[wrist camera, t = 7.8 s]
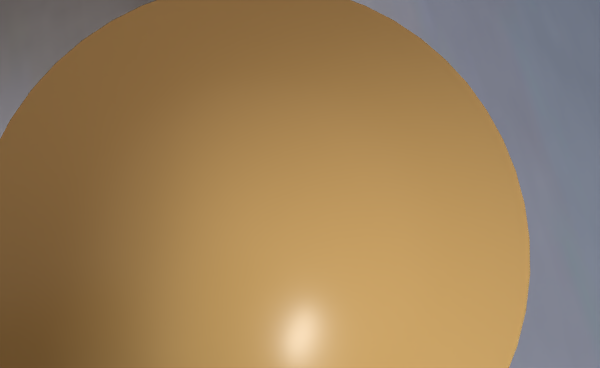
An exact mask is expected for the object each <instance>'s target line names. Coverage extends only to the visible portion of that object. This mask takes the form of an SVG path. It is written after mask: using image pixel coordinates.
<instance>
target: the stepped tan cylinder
mask: <svg viewBox="0 0 600 368" xmlns="http://www.w3.org/2000/svg"><path fill="white" fill-rule="evenodd" d="M529 278H530V245H529V232H528V225H527V218H526V211H525V204H524V200H523V196H522V193H521V189H520V185H519V182H518V178H517V174H516V171H515V168H514V166H513V163H512V161H511V158H510V156H509V153H508V151H507V148H506V146H505V143H504V141H503V139H502V137H501V135H500V133H499V131H498V130H497V128H496V126H495V124H494V122H493V121H492V119H491V117H490V115H489V113H488V112H487V110H486V109H485V107H484V106H483V104H482V103H481V102H480V100H479V99H478V97H477V96H476V95H475V93H474V92H473V90H472V89H471V88H470V86H469V85H468V84H467V82H466V81H465V80H464V79H463V78H462V77H461V76H460V75H459V74H458V73H457V72H456V71H455V69H454V68H453V67H452V66H451V65H450V64H449V63H448V62H447V61H446V60H445V59H444V58H443V57H442V56H441V55H439V54H438V53H437V52H436V51H435V50H434V49H432V48H431V47H430V46H429V45H428V44H427V43H425V42H424V41H423V40H422V39H421V38H419V37H418V36H416V35H415V34H413V33H412V32H410V31H409V30H407V29H406V28H404V27H403V26H401V25H400V24H398V23H397V22H395V21H394V20H392V19H390V18H388V17H386V16H384V15H382V14H380V13H378V12H376V11H374V10H372V9H370V8H369V7H367V6H364V5H362V4H359V3H356V2H354V1H351V0H156V1H153V2H151V3H148V4H145V5H142V6H140V7H138V8H136V9H134V10H132V11H130V12H128V13H126V14H124V15H122V16H120V17H118V18H116V19H114V20H113V21H111V22H109V23H108V24H106V25H105V26H103V27H102V28H100V29H99V30H97V31H96V32H94V33H93V34H91V35H90V36H88V37H87V38H85V39H84V40H82V41H81V42H80V43H79V44H78V45H76V46H75V47H74V48H73V49H72V50H71V51H69V52H68V53H67V54H66V55H65V56H64V57H62V58H61V59H60V60H59V61H58V62H57V63H55V65H54V66H53V67H52V68H51V69H50V70H49V71H48V72H47V73H46V74H45V76H44V77H43V78H42V79H41V80H40V81H39V82H38V83H37V84H36V85H35V87H34V88H33V89H32V90H31V91H30V93H29V94H28V96H27V97H26V98H25V100H24V101H23V103H22V104H21V105H20V107H19V108H18V110H17V111H16V113H15V114H14V115H13V117H12V118H11V120H10V122H9V123H8V125H7V127H6V129H5V131H4V133H3V135H2V137H1V139H0V368H509V366H510V363H511V361H512V358H513V356H514V353H515V350H516V348H517V345H518V341H519V336H520V332H521V328H522V324H523V320H524V316H525V312H526V305H527V296H528V287H529Z"/></svg>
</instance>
